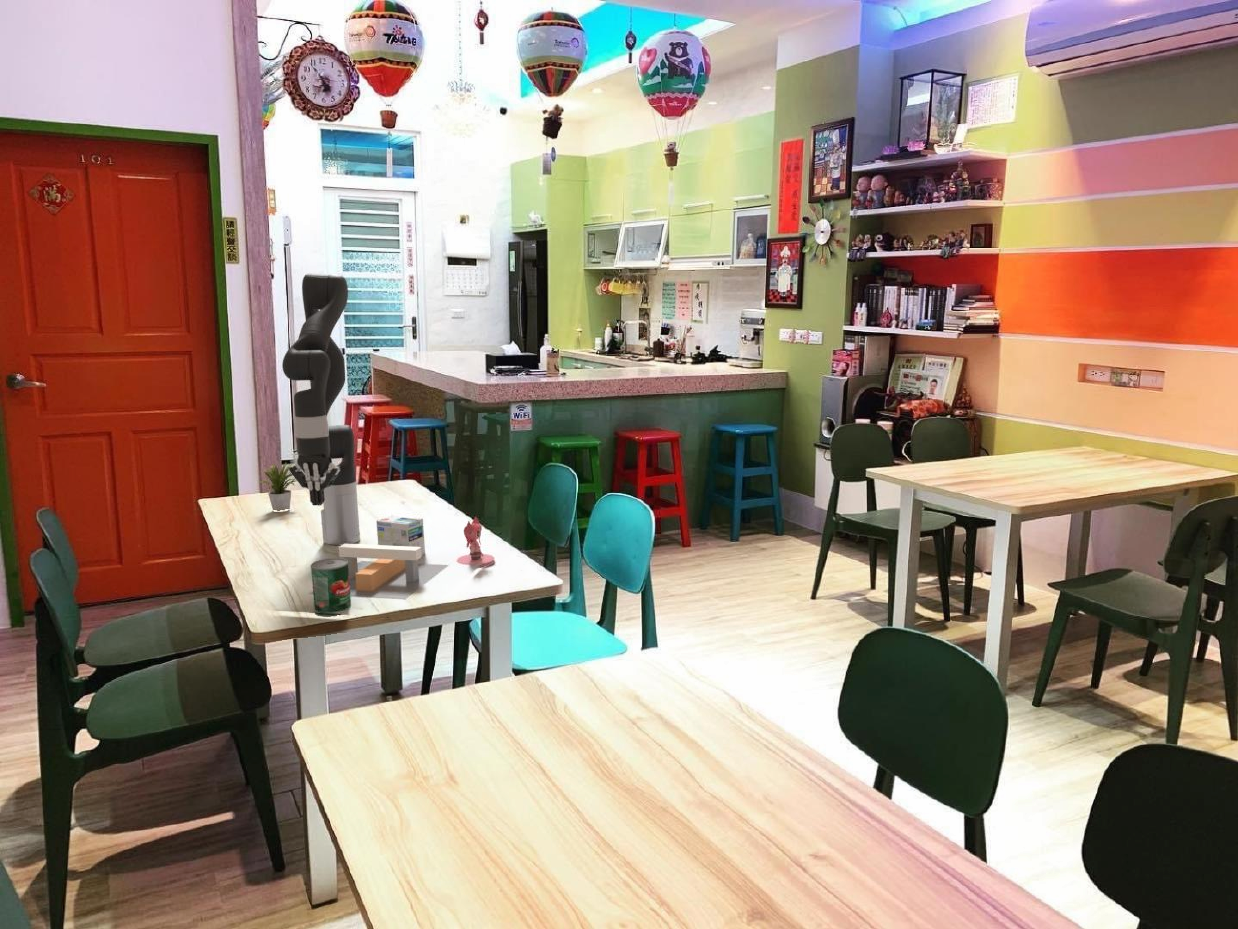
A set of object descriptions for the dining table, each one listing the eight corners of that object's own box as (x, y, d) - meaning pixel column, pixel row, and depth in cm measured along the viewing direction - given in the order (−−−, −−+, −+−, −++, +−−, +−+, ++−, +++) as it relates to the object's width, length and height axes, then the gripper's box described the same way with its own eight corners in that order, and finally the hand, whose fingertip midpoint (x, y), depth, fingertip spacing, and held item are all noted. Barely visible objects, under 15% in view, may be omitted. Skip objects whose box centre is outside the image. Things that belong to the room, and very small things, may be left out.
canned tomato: (349, 615, 196) (345, 567, 194) (311, 618, 195) (307, 569, 193) (353, 603, 204) (350, 557, 202) (317, 605, 202) (313, 559, 200)
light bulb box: (426, 557, 239) (424, 518, 237) (410, 564, 233) (408, 524, 231) (394, 552, 243) (391, 514, 241) (377, 559, 237) (375, 520, 235)
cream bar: (339, 556, 217) (338, 547, 217) (345, 553, 220) (344, 543, 220) (416, 560, 213) (415, 550, 213) (421, 557, 216) (421, 547, 216)
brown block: (356, 590, 210) (355, 573, 209) (390, 567, 227) (389, 552, 226) (372, 591, 209) (371, 574, 208) (405, 568, 226) (404, 552, 225)
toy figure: (487, 569, 227) (485, 523, 225) (451, 567, 229) (448, 522, 227) (499, 558, 237) (497, 514, 234) (464, 556, 239) (462, 513, 236)
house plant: (294, 516, 284) (290, 466, 281) (251, 517, 285) (246, 466, 282) (310, 506, 298) (306, 457, 295) (269, 506, 299) (264, 458, 296)
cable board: (308, 597, 208) (306, 571, 207) (361, 564, 233) (360, 541, 232) (405, 603, 203) (403, 576, 202) (448, 568, 228) (447, 545, 227)
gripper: (278, 436, 212) (284, 507, 215) (329, 437, 209) (335, 509, 213) (295, 431, 219) (301, 500, 222) (345, 432, 216) (350, 502, 220)
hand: (317, 504), depth 217 cm, fingers closed
